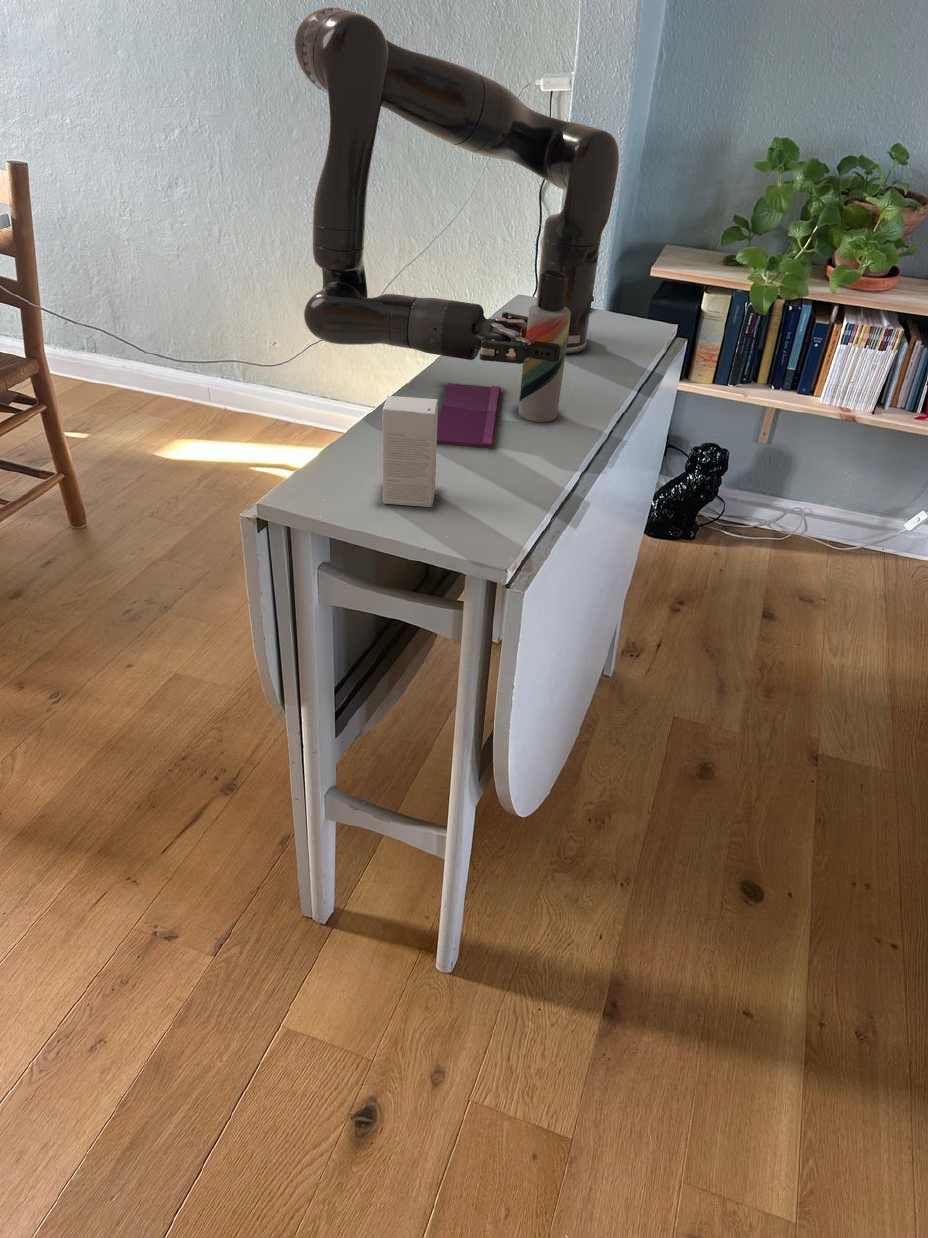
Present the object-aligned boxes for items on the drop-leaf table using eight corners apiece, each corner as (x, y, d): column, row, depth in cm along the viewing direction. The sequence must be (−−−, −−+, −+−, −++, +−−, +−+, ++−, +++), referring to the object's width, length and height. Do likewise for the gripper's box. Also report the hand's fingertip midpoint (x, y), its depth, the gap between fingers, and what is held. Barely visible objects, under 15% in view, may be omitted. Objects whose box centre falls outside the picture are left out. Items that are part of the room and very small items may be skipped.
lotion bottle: (517, 405, 132) (532, 264, 120) (556, 407, 132) (574, 267, 120) (518, 421, 127) (533, 276, 115) (558, 424, 127) (577, 279, 115)
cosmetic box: (435, 491, 109) (439, 398, 102) (432, 508, 106) (436, 413, 98) (386, 487, 109) (387, 393, 102) (381, 504, 106) (381, 409, 99)
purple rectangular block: (448, 385, 136) (448, 381, 135) (500, 390, 136) (500, 386, 135) (433, 442, 120) (433, 438, 119) (492, 448, 120) (493, 443, 119)
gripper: (432, 316, 118) (558, 335, 115) (460, 286, 129) (576, 303, 126) (430, 371, 122) (551, 390, 119) (457, 338, 133) (569, 355, 131)
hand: (563, 345), depth 123 cm, fingers closed on lotion bottle, 5 cm apart
